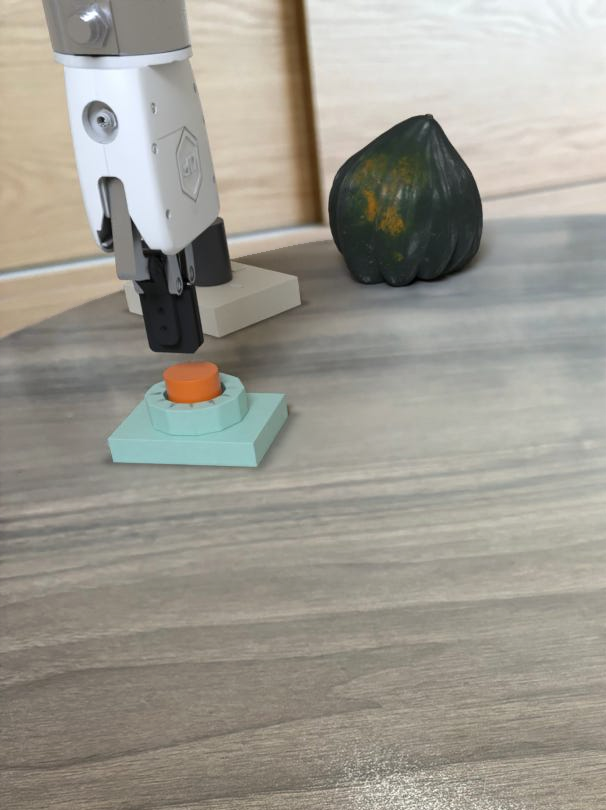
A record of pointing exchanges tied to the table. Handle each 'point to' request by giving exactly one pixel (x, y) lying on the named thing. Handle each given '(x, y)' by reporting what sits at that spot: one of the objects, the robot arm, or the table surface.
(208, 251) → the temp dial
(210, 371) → the power button
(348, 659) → the table surface
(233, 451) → the switch block
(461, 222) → the squash
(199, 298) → the grey base plate
